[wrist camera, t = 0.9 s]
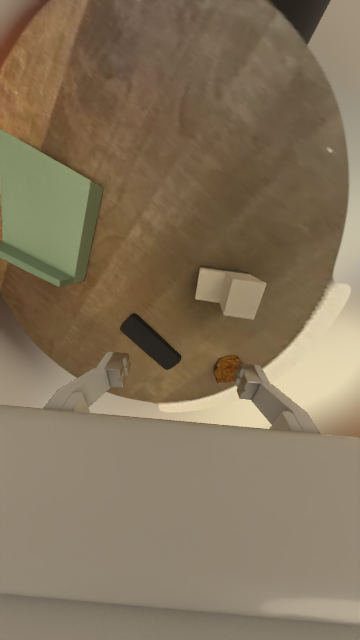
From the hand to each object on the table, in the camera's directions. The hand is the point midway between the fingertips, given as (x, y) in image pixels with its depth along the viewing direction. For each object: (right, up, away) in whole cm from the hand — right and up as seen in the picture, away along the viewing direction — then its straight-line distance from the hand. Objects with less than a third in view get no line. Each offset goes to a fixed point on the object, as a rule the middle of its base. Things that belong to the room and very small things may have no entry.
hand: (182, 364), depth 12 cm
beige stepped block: (+7, +10, +16) cm, 20 cm away
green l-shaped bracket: (-21, +20, +15) cm, 33 cm away
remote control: (-6, -1, +23) cm, 24 cm away
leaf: (+11, -7, +24) cm, 27 cm away
